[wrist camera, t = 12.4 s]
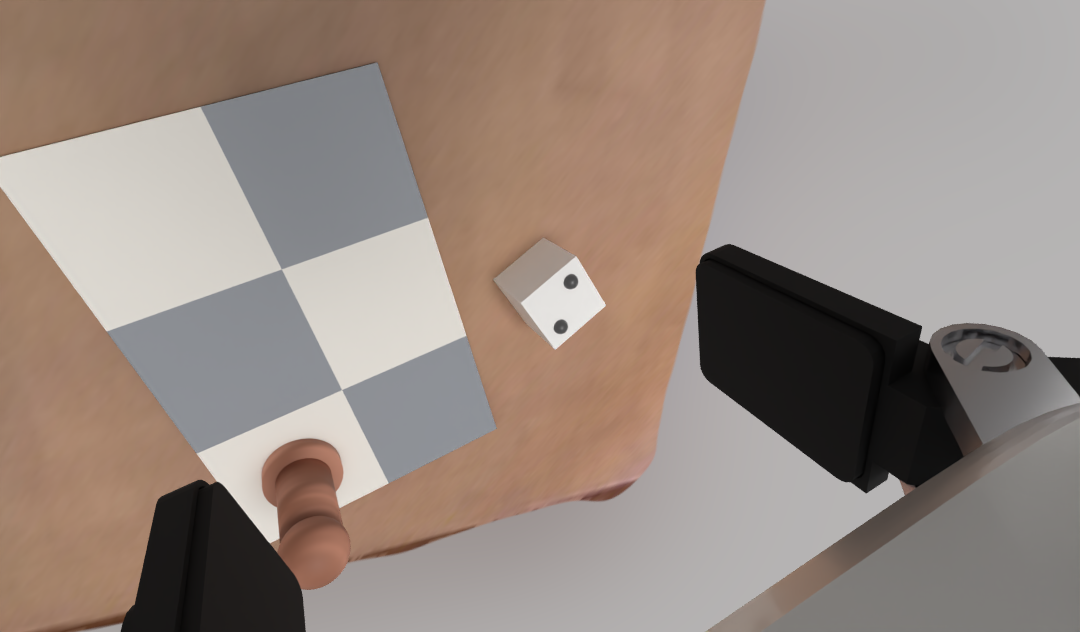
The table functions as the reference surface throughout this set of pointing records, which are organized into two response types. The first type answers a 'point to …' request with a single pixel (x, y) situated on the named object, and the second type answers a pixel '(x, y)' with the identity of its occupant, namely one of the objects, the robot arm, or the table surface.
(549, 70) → the table surface
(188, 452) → the table surface
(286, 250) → the board
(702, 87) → the table surface
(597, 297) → the die
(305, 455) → the pawn
